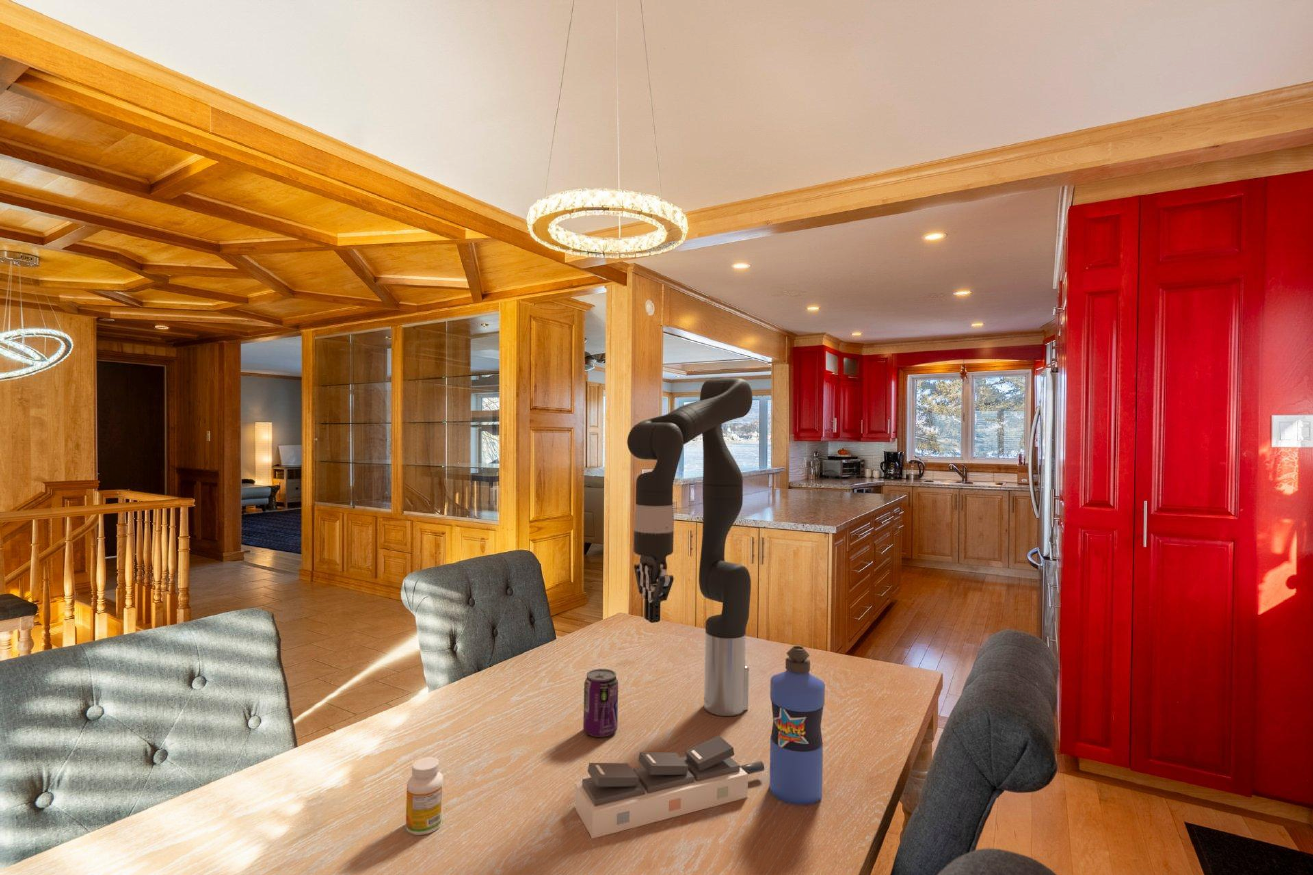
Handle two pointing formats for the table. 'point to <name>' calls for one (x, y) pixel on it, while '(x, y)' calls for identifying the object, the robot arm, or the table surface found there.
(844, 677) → the table surface
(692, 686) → the table surface
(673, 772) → the plate
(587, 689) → the beverage can
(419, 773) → the supplement bottle
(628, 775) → the rocker
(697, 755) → the rocker
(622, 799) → the power strip
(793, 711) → the blue squeeze bottle
